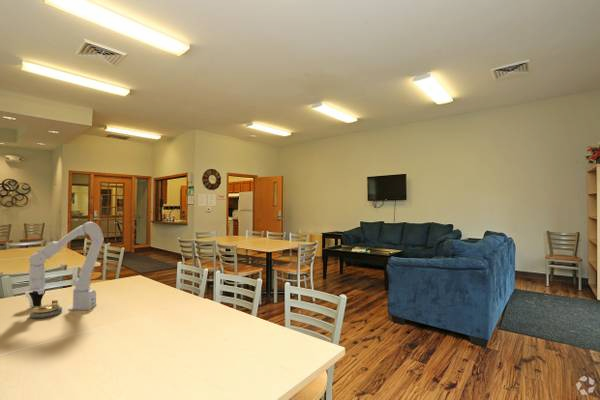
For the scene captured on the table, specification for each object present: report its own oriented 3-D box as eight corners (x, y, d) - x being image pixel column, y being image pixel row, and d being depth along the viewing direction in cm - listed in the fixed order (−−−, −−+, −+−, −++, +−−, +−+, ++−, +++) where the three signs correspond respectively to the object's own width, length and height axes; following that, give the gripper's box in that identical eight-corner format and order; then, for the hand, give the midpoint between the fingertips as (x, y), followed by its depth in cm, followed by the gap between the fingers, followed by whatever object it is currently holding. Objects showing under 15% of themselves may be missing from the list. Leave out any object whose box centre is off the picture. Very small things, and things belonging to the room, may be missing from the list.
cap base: (67, 310, 153) (68, 305, 153) (49, 319, 141) (49, 314, 141) (43, 310, 152) (43, 306, 152) (22, 319, 140) (22, 314, 140)
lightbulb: (33, 309, 153) (34, 287, 153) (21, 309, 153) (21, 287, 153) (44, 305, 159) (44, 284, 159) (32, 305, 159) (32, 284, 159)
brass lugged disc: (55, 312, 144) (55, 305, 144) (28, 314, 140) (29, 307, 140) (62, 305, 153) (62, 299, 153) (37, 307, 149) (37, 301, 149)
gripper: (22, 277, 147) (21, 305, 147) (30, 282, 138) (30, 312, 138) (40, 274, 153) (40, 301, 153) (49, 279, 144) (49, 307, 144)
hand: (36, 306), depth 146 cm, fingers closed, pressing on brass lugged disc
